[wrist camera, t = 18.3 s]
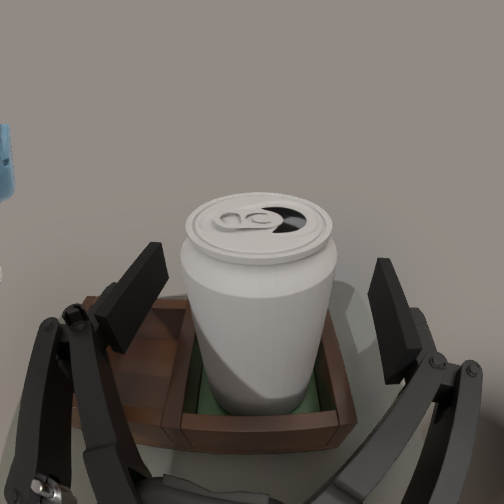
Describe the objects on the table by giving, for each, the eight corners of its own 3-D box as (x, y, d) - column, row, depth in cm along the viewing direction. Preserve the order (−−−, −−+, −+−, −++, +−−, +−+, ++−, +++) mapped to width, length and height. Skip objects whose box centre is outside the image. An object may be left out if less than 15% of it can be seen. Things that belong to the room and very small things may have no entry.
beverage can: (318, 415, 15) (374, 250, 8) (214, 431, 14) (166, 271, 8) (293, 342, 20) (310, 184, 14) (207, 352, 19) (181, 193, 13)
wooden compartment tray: (67, 424, 14) (34, 394, 11) (103, 331, 22) (86, 295, 20) (338, 447, 14) (358, 422, 11) (317, 336, 22) (325, 297, 20)
